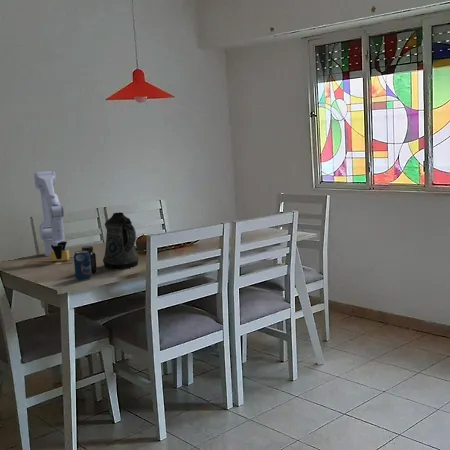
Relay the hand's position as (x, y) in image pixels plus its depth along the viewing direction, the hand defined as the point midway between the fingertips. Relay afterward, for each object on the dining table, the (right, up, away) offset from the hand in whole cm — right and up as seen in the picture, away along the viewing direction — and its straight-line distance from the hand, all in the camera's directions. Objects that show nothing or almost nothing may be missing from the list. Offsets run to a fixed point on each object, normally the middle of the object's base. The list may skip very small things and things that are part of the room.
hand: (60, 257), depth 298 cm
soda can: (+19, -7, -34) cm, 40 cm away
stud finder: (0, -1, 0) cm, 1 cm away
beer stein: (+33, -3, -12) cm, 36 cm away
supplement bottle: (+19, -6, -23) cm, 31 cm away
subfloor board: (-5, -3, +1) cm, 6 cm away
